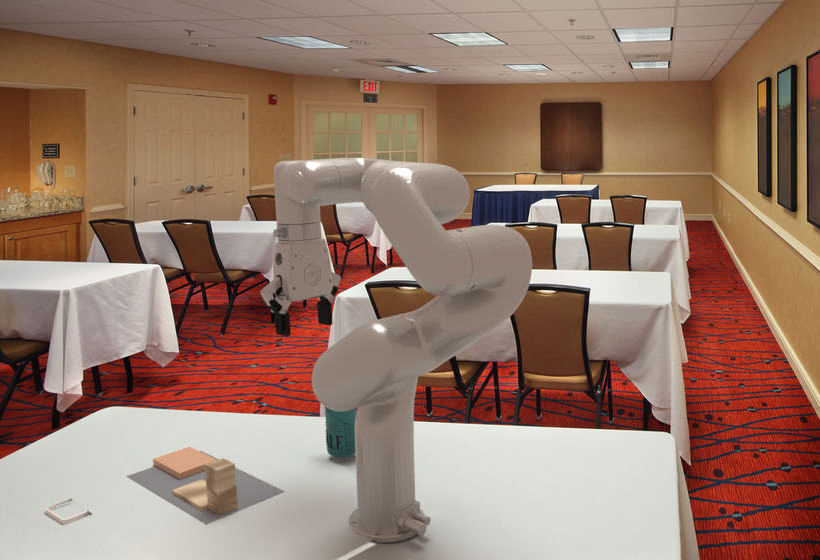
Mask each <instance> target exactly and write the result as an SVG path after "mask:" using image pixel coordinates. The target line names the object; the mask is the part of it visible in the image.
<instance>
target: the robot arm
mask: <svg viewBox="0 0 820 560" xmlns="http://www.w3.org/2000/svg"><path fill="white" fill-rule="evenodd" d="M273 167H274V168H273V187H274V201H275V203H274V204H275V217H276V229H273V232H272V235H273V237H274V238H277V242H275V243H274V244H275V245H274V253H273V266H272V273H273V274H272V277H273V279H272V280H271V281H270V282H269V283H268V284H267V285H266V286H264V287H263V288H262V289H261V290H260V295H261V297H262V299H263V301H264V303H265V305H266V306H267V307H268V308H269V309H270V312H271V313H274V326H275V334H276V335H277V336H282V337H290V336H291V335H292V334H291V319H290V318H291V316H290V313H288V312H287V311H288V309H289V307H290V305H291V304H292V302H302V301H305V300H310V299H315V298H317V299H318V300H319V301H317V304H316V307H317V310H316V311H317V322H318V324H320V325H326V326H332V325H333V309H332V307H333V305H332V304H333V303H334V302H335V296H336V295H337V293H338V291H339V288H338V287H339V285H340V283H341V279H342V277H341V275H339V274H338V273H335V272H333V271H332V265H331V258H330V253H329V248H328V244H327V242H326V238H323V237H322V225H321V224H322V222H321V207H322V206H323V207H324V206H330V205H341V204H349V203H350V204H352V203H363V205H364V207H365V208H366V210H367V211H369V212H370V213H371V214H372V215H373V216H374V218H375V220H376V222H377V224H378V226H379V227H380V228H381V231H382V232H383V233H384V235H385V237H386V238H387V240H388V242H389V243H390V245H391V246H392V248H393V249H394V251H395V252H396V254H397V255H398V256H399V258H400V260H401V261H402V263H403V264H404V266H405V267H406V269H407V270H408V272H409V273H410V275H411V276H412V277H413V279H414V281H416V282H417V284H418V285H419V286H420V287H421V288H422V289H423V290H424V291H426V292H427V293H429V294H431V295H434V296H435V297H434V298H433V299H431V300H430V301H429V302H427V303H425V304H424V305H423V306H421V307H419V308H417V309H414V310H413V311H409V312H405V313H399V314H396V315H395V314H394V315H391V316H388V317H387V316H386V317H383V318H380V319H379V318H378V319H375V320H372V321H369V322H367V323H364V324H361V325H360V326H358V327H355V329H353V330H352V331H350V332H349V333H348V334H346V335H345V336H344V337H342V338H341V339H340V340H338V341H337V342H336V343H334V344H333V345H331V346H330V347H329V348H328V349H326V350H325V351H324V352H323V353H322V354H320V356H319V357H318V359H316V362H315V364H314V367H313V368H312V369H313V370H312V374H311V386H312V391H313V393H314V396H315V398H316V399H317V400H318V401H319V403H320V404H321V405H322V406H323V407H324V408H325V407H327V408H328V409H331V410H333V411H339V412H343V411H348V410H352V409H355V408H356V419H355V453H356V454H355V470H356V471H355V473H356V499H357V501H356V502H357V504H356V505H357V508H355V510H353V511H352V512H351V514H350V515H349V517H348V525H349V527H350V528H351V529H352V530H353V532H355V533H356V534H359V535H361V536H364V537H368V538H372V539H371V540H370V542H371V543H372V542H373V543H384V544H385V543H386V544H387V543H395V542H397V543H398V542H401V541H404V540H405V541H406V540H408V539H410V538H413V537H415V536H416V535H419V536H424V534H425V533H426V531H427V527H428V526H429V524H430V523H431V517H430V516H428V515H426V514H425V513H424V511H423V510H422V509H421V502H420V501H419V500H417V499H416V480H415V479H416V475H415V474H416V473H415V471H416V470H415V443H414V442H415V437H414V436H415V435H414V434H415V429H414V425H415V424H414V421H415V419H414V418H415V417H414V412H415V408H414V407H415V400H416V399H415V397H416V391H417V385H418V380H419V377H421V376H424V375H426V374H428V373H429V374H430V372H432V371H434V370H435V369H438V368H439V367H440V366H441V365H442V364H444V363H445V362H447V361H449V360H450V359H452V358H453V357H455V356H457V355H459V354H460V353H462V352H463V351H465V350H466V349H467V348H469V347H471V346H472V345H474V344H475V343H476V342H478V341H480V340H482V338H484V337H486V336H488V335H489V334H490V333H492V332H493V331H495V330H496V329H498V328H499V327H500V326H501V325H502V324H504V323H505V322H506V321H507V320H508V319H509V318H510V317H511V316H512V315H513V314H514V313H515V311H516V310H517V309H518V308H519V306H521V303H522V302H523V300H524V299H525V296H526V295H527V292H528V290H529V286H530V284H531V283H530V282H531V278H532V273H533V257H532V250H531V248H530V245H529V243H528V241H527V239H526V238H525V237H524V236H523V234H521V233H520V232H519V231H517V230H516V229H514V228H511V227H509V226H505V225H498V224H483V225H481V224H480V225H474V226H468V227H461V228H453V229H448V230H446V229H445V228H444V227H443V225H444V224H447V223H450V222H452V221H455V220H456V219H458V218H459V217H460V216H461V215H462V214H463V213H464V212H465V210H466V209H467V207H468V205H469V202H470V199H471V192H470V191H471V190H470V185H469V182H468V181H467V179H466V177H465V176H464V175H463V173H461V172H460V171H459V170H457V169H456V168H454V167H451V166H448V165H446V164H440V163H430V162H417V161H416V162H415V161H404V160H403V161H401V160H388V159H379V158H378V159H377V158H368V157H367V158H366V157H335V158H333V157H332V158H319V159H318V158H317V159H307V160H303V159H302V160H301V159H299V160H298V159H297V160H284V161H278V162H277V163H276V164H274V166H273ZM274 295H275V298H274Z"/></svg>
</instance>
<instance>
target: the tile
mask: <svg viewBox="0 0 820 560" xmlns="http://www.w3.org/2000/svg"><path fill="white" fill-rule="evenodd" d="M200 451H201V450H197V449H195V448H194V447H192V446H187V447H184V448H182V449H179V450H175V451H173V452H170V453H166V454H163V455H160V456H158V457H154V458H153V459H152V463H153V466H154V467H155V466H157V467H159V468H160V469H162V470H164V471H166V472H168V473H170V474H171V475H173V476H175V477H177V478H179V479H182V478H185V477H188V476H191V475H193V474H196V473H199V472H202V471H204V470H205V464H208V463H211V462H213V461H216V459H214V458H212V457H210V456H208V455H206V454H204V453H202V452H200Z"/></svg>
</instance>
